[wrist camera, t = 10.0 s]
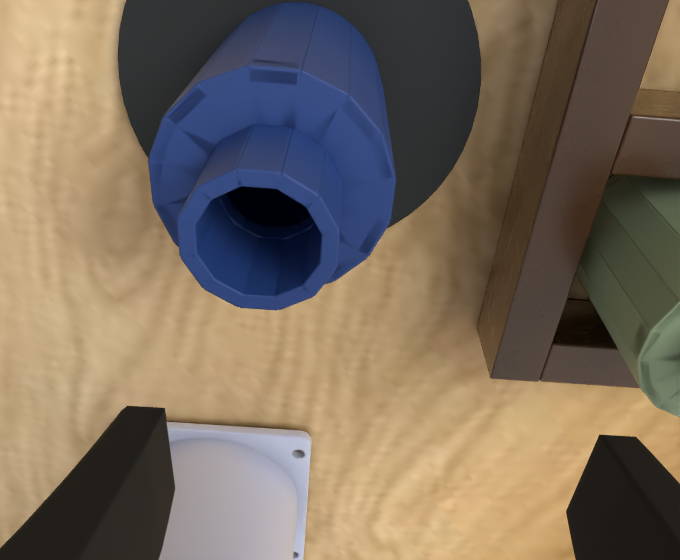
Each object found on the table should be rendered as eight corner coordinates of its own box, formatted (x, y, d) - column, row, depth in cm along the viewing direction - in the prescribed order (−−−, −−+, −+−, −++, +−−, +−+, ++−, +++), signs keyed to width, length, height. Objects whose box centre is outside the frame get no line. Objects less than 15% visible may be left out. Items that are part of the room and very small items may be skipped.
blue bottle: (372, 174, 18) (383, 362, 11) (218, 162, 18) (131, 345, 11) (390, 9, 16) (421, 116, 9) (212, -6, 16) (94, 91, 9)
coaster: (446, 254, 20) (447, 259, 20) (141, 232, 20) (138, 236, 20) (516, -103, 15) (519, -103, 14) (96, -140, 14) (91, -141, 14)
